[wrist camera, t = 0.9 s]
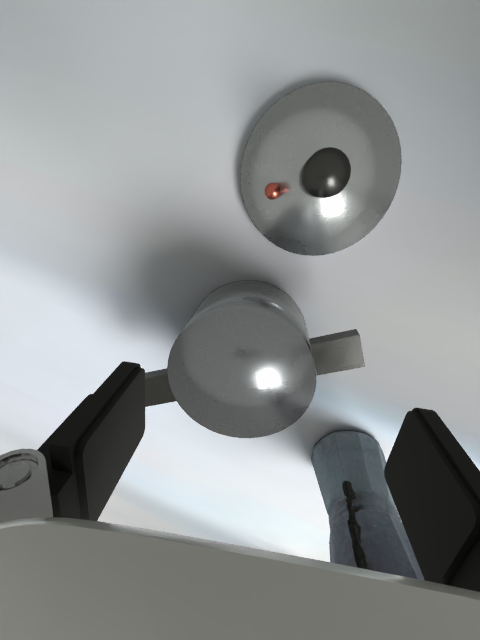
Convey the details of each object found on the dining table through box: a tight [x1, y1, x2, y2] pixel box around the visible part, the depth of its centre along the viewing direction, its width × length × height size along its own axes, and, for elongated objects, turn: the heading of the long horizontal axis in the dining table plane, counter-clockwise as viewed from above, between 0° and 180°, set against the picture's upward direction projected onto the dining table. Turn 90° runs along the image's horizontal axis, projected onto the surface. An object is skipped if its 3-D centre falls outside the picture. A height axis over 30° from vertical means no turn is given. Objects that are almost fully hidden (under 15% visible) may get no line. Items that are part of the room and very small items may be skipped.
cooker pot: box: [145, 280, 365, 438], centre depth 31 cm, size 21×13×9 cm, turn 106°
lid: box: [241, 82, 401, 256], centre depth 26 cm, size 14×14×6 cm
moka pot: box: [311, 431, 424, 580], centre depth 31 cm, size 10×15×20 cm, turn 29°
